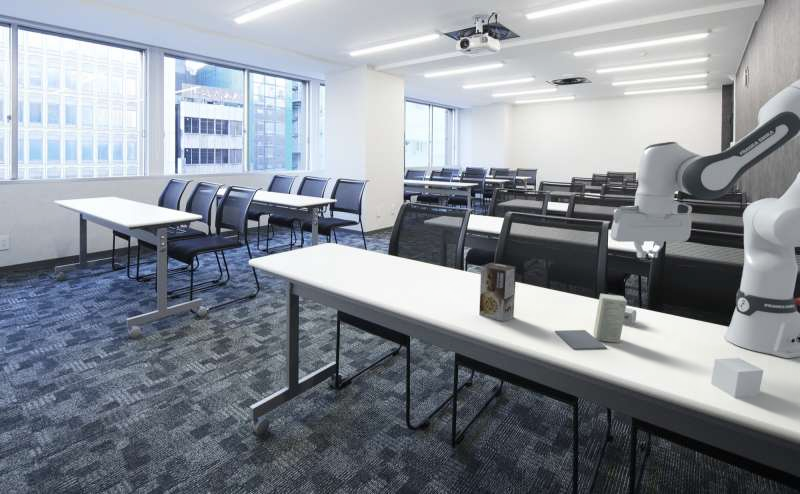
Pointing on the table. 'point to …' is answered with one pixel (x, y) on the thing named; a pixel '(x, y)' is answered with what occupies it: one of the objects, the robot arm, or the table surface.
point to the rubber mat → (580, 339)
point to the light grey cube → (737, 377)
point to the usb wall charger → (629, 317)
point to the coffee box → (497, 291)
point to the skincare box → (610, 318)
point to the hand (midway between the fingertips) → (646, 257)
